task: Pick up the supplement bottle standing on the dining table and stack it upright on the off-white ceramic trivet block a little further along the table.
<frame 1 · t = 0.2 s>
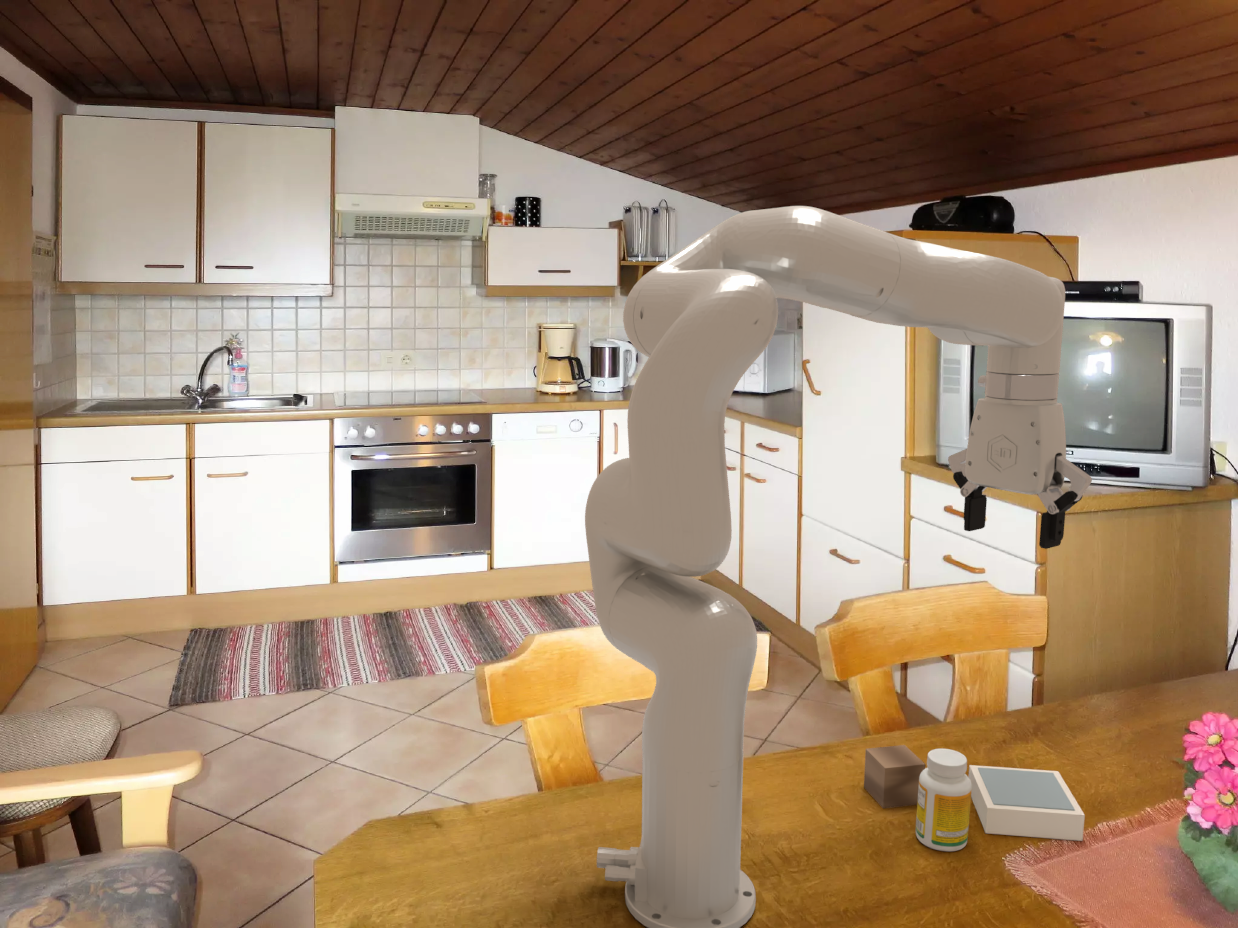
hand: (1010, 537, 114), 30 cm above the table, tool pointing down, fingers open, 9 cm apart
supplement bottle: (941, 841, 107), on the table
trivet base: (1022, 813, 112), on the table
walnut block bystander: (892, 795, 116), on the table
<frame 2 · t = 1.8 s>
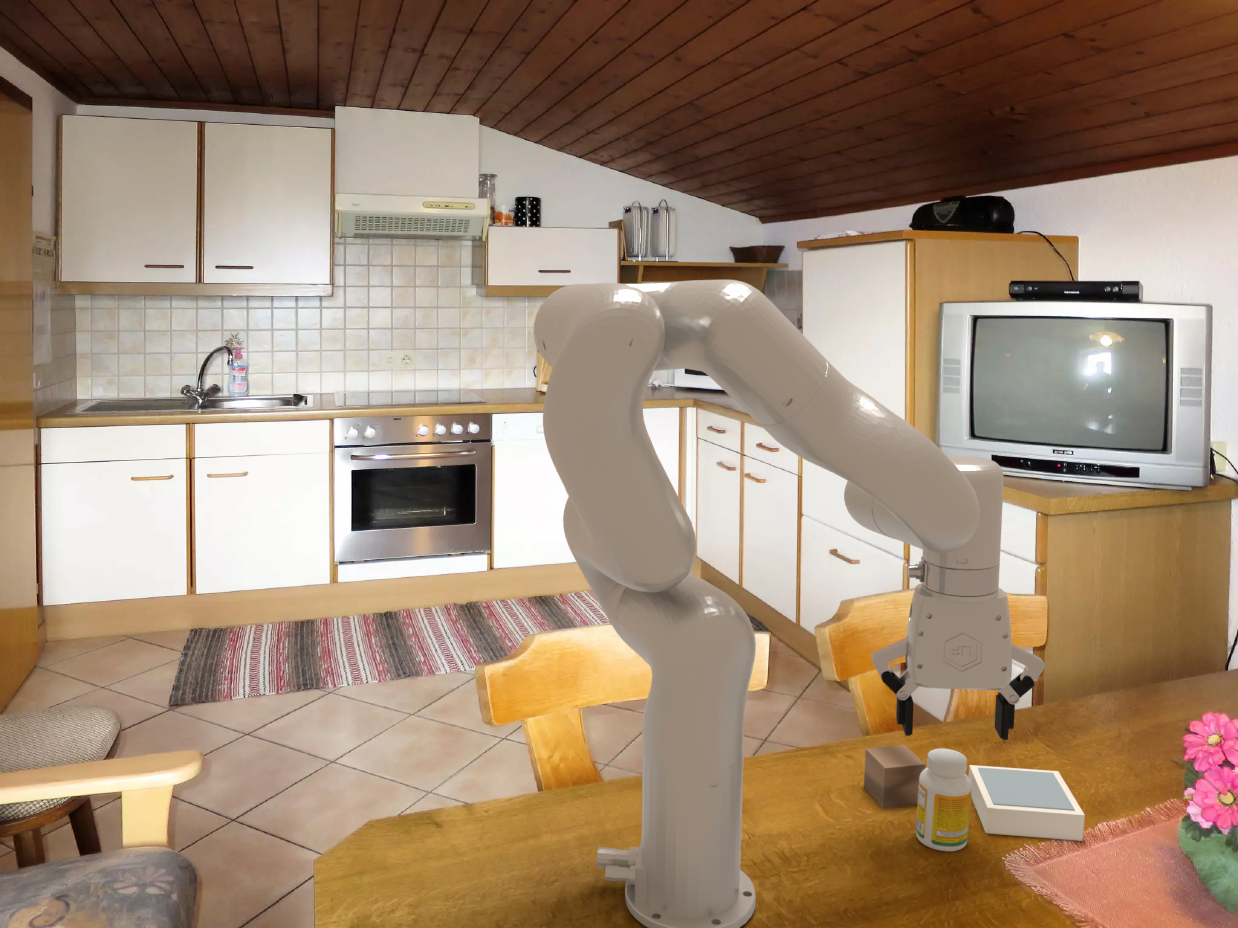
hand: (953, 732, 105), 12 cm above the table, tool pointing down, fingers open, 9 cm apart
nothing on the table moved.
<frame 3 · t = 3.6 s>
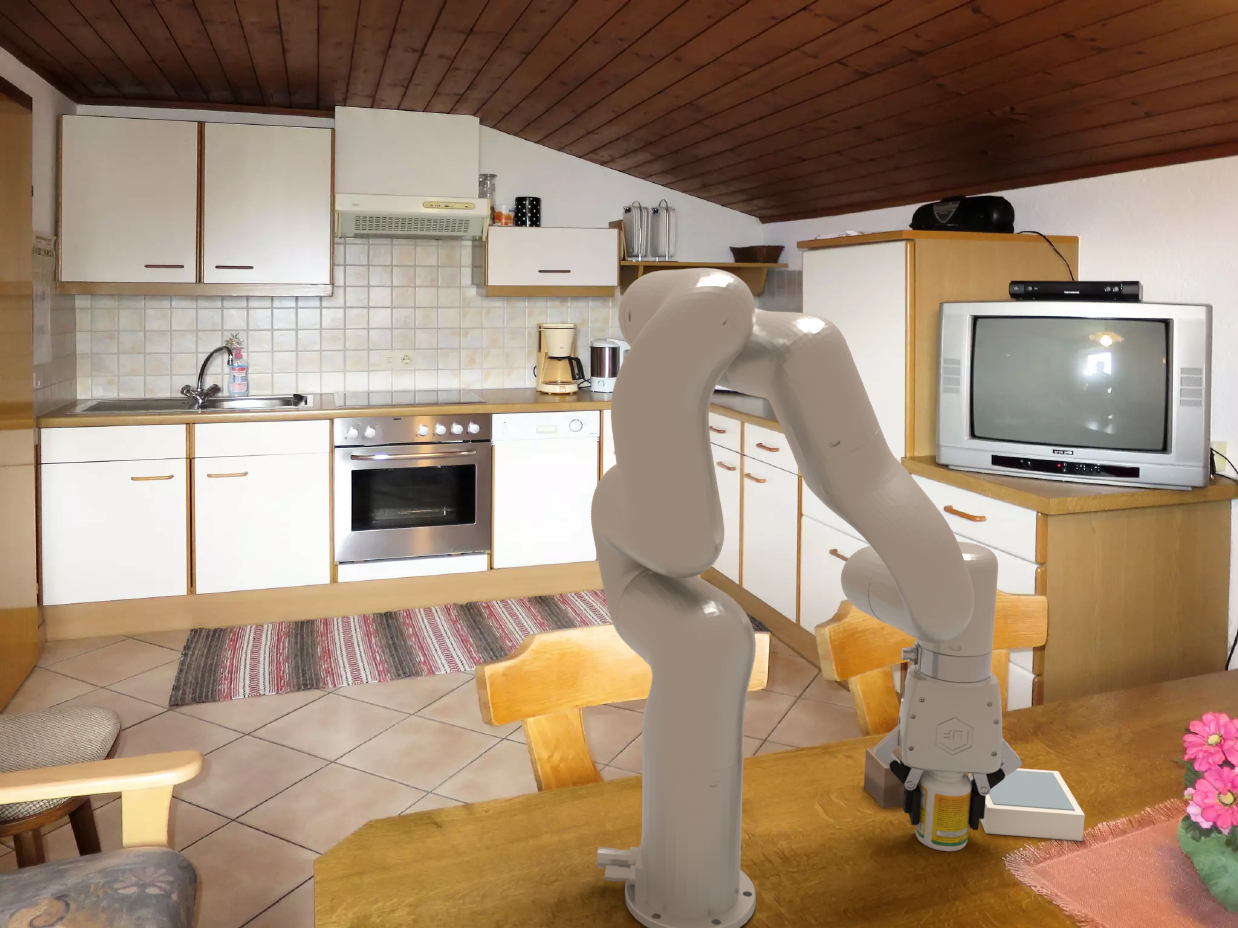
hand: (942, 819, 107), 2 cm above the table, tool pointing down, fingers closed on supplement bottle, 5 cm apart
supplement bottle: (941, 840, 107), on the table, touching gripper
everything else where it was.
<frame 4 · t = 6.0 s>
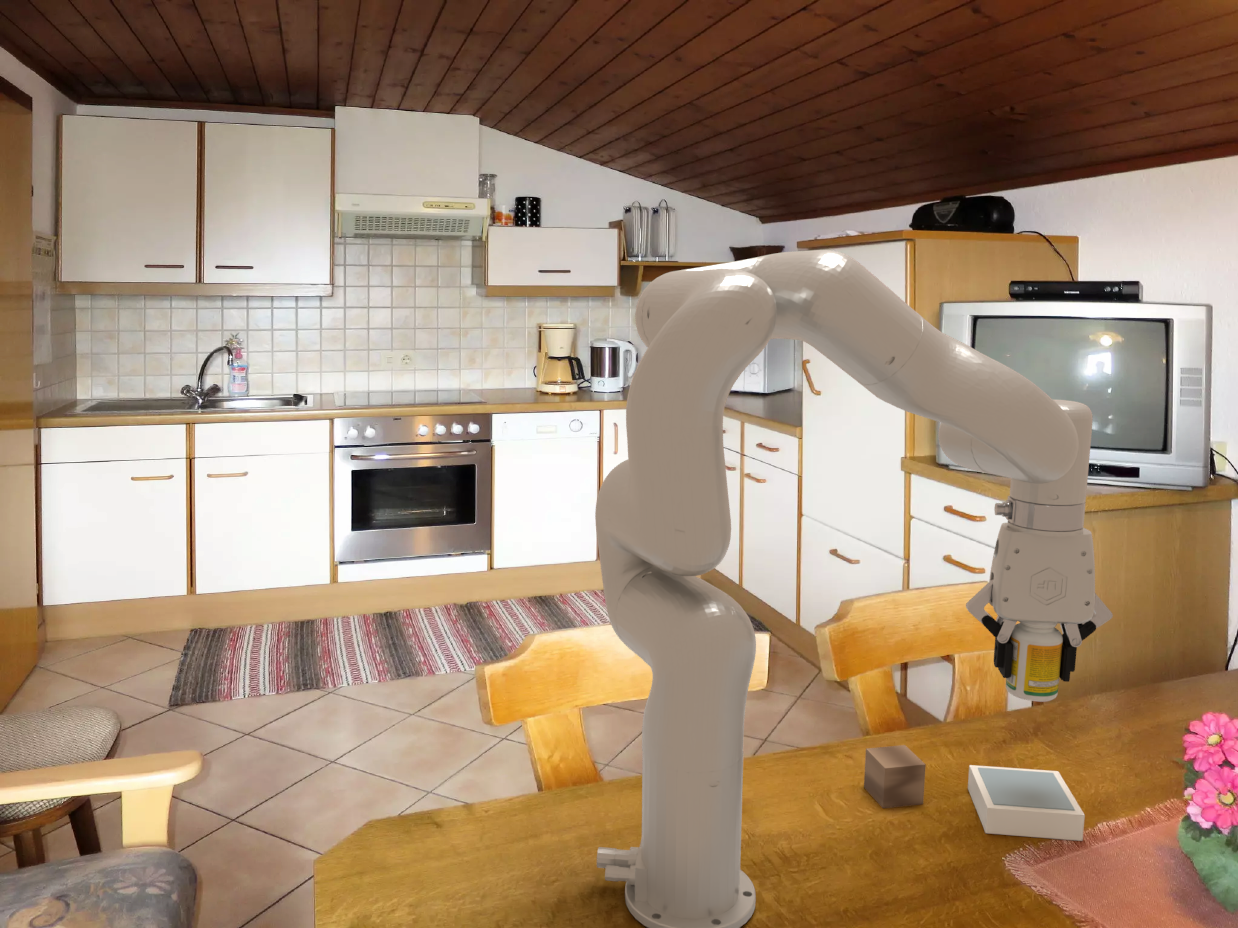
hand: (1033, 673, 110), 17 cm above the table, tool pointing down, fingers closed on supplement bottle, 5 cm apart
supplement bottle: (1031, 694, 110), point 14 cm above the table, touching gripper
everything else where it was.
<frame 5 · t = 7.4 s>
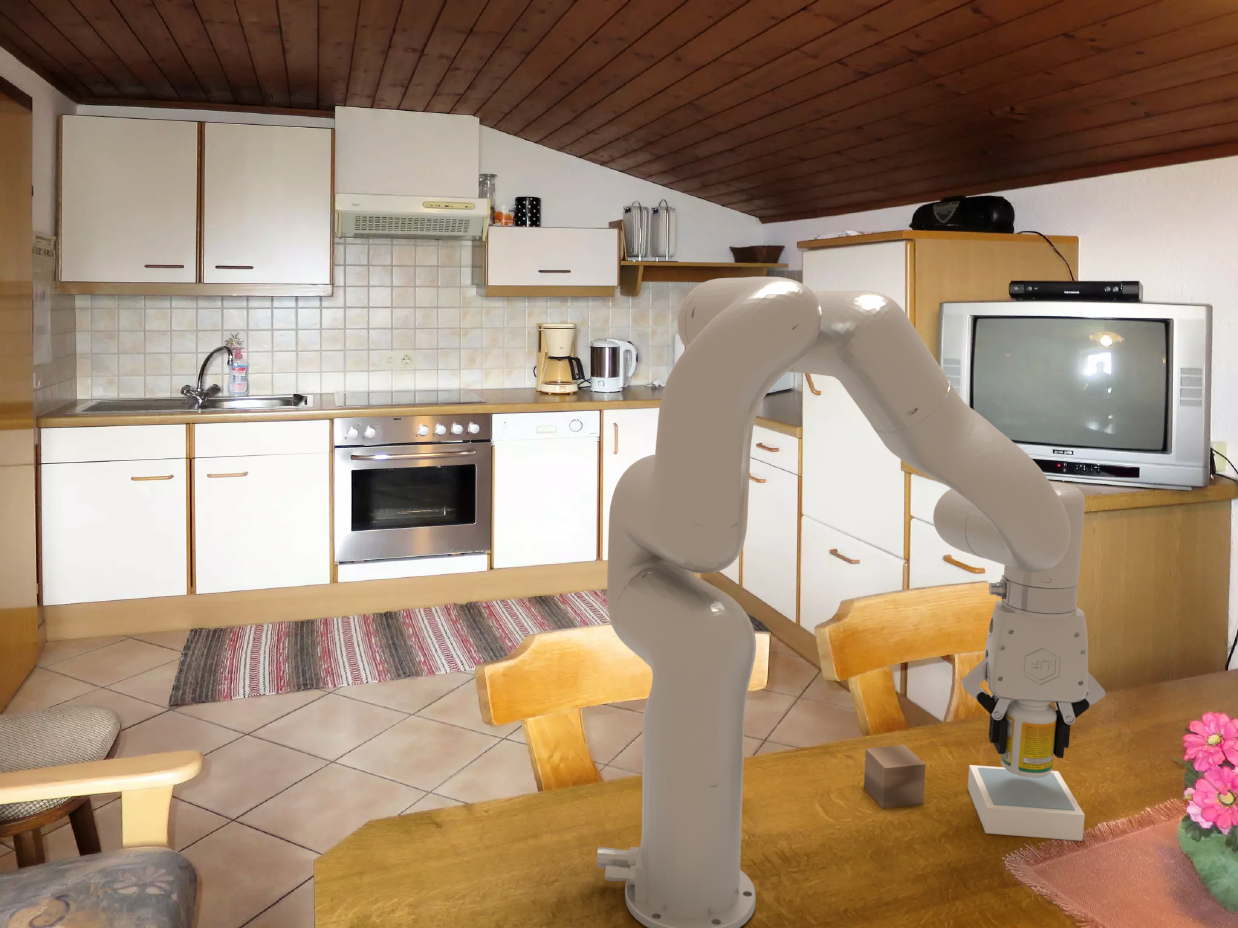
hand: (1027, 748, 111), 8 cm above the table, tool pointing down, fingers closed on supplement bottle, 5 cm apart
supplement bottle: (1026, 769, 112), point 5 cm above the table, touching gripper
everything else where it was.
when the fingers open (6 cm above the table, at t = 8.6 s): supplement bottle stays where it is, resting on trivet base.
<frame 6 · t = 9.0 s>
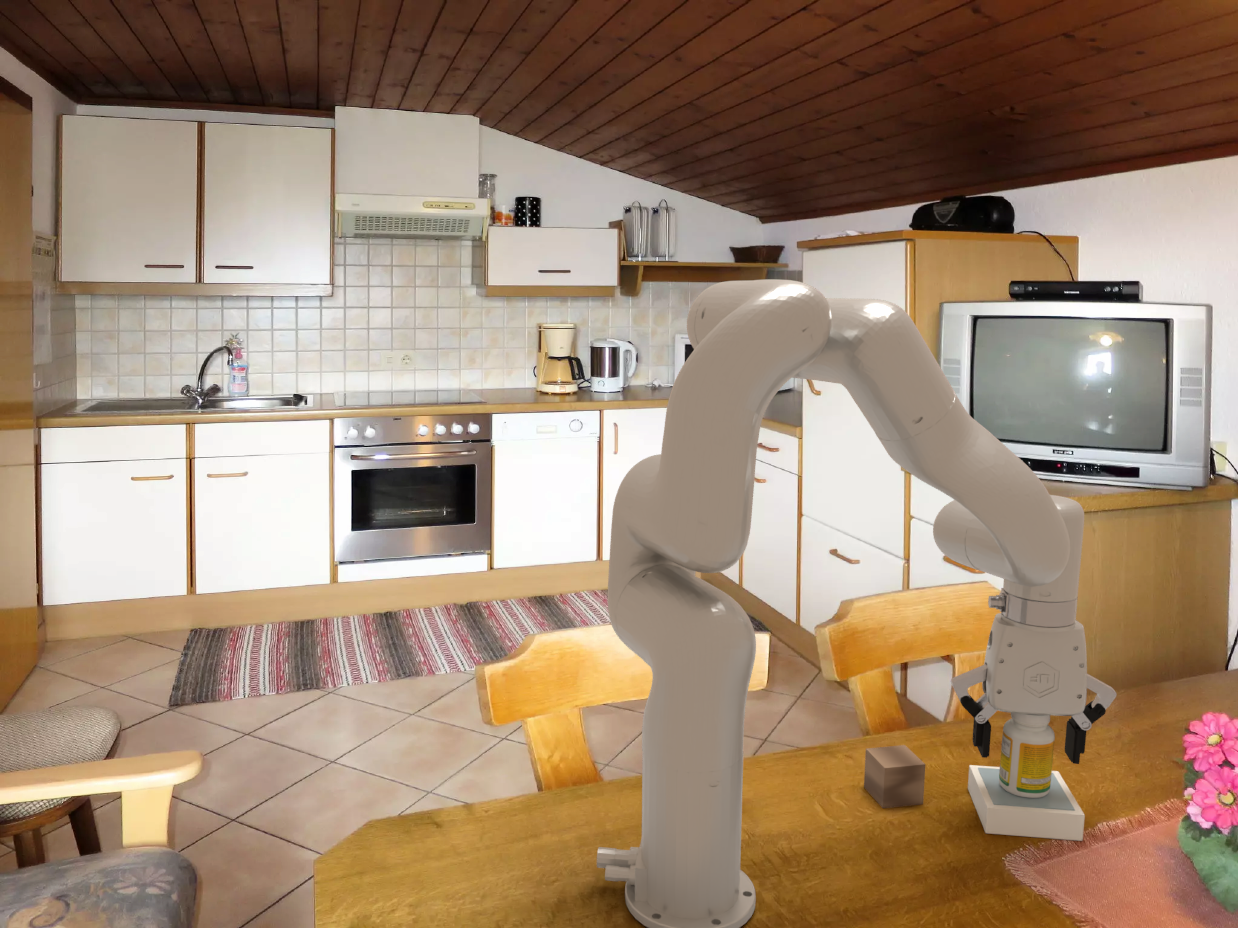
hand: (1026, 755, 111), 7 cm above the table, tool pointing down, fingers open, 9 cm apart
supplement bottle: (1024, 789, 112), point 3 cm above the table, touching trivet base
everything else where it was.
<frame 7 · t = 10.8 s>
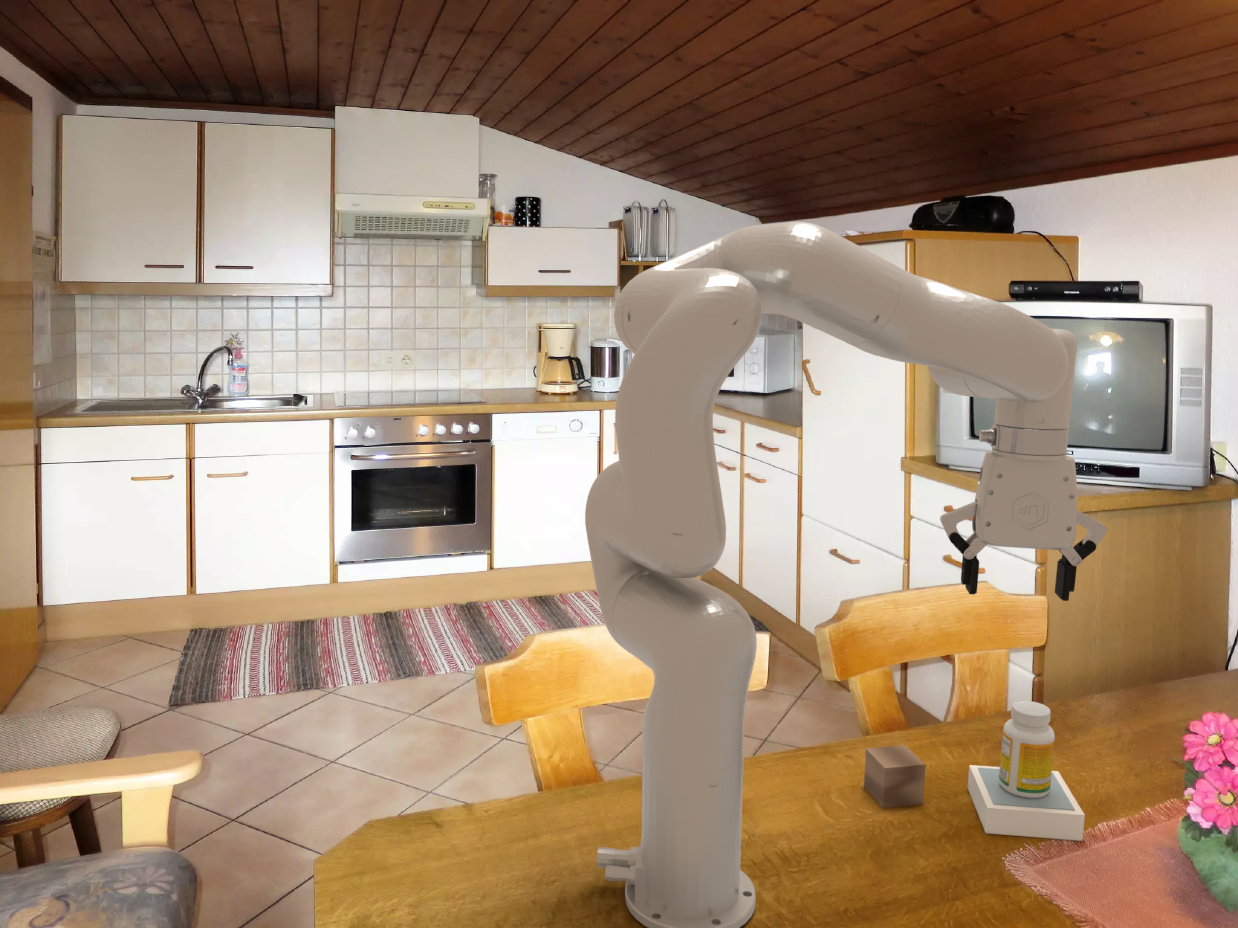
hand: (1015, 594, 111), 25 cm above the table, tool pointing down, fingers open, 9 cm apart
nothing on the table moved.
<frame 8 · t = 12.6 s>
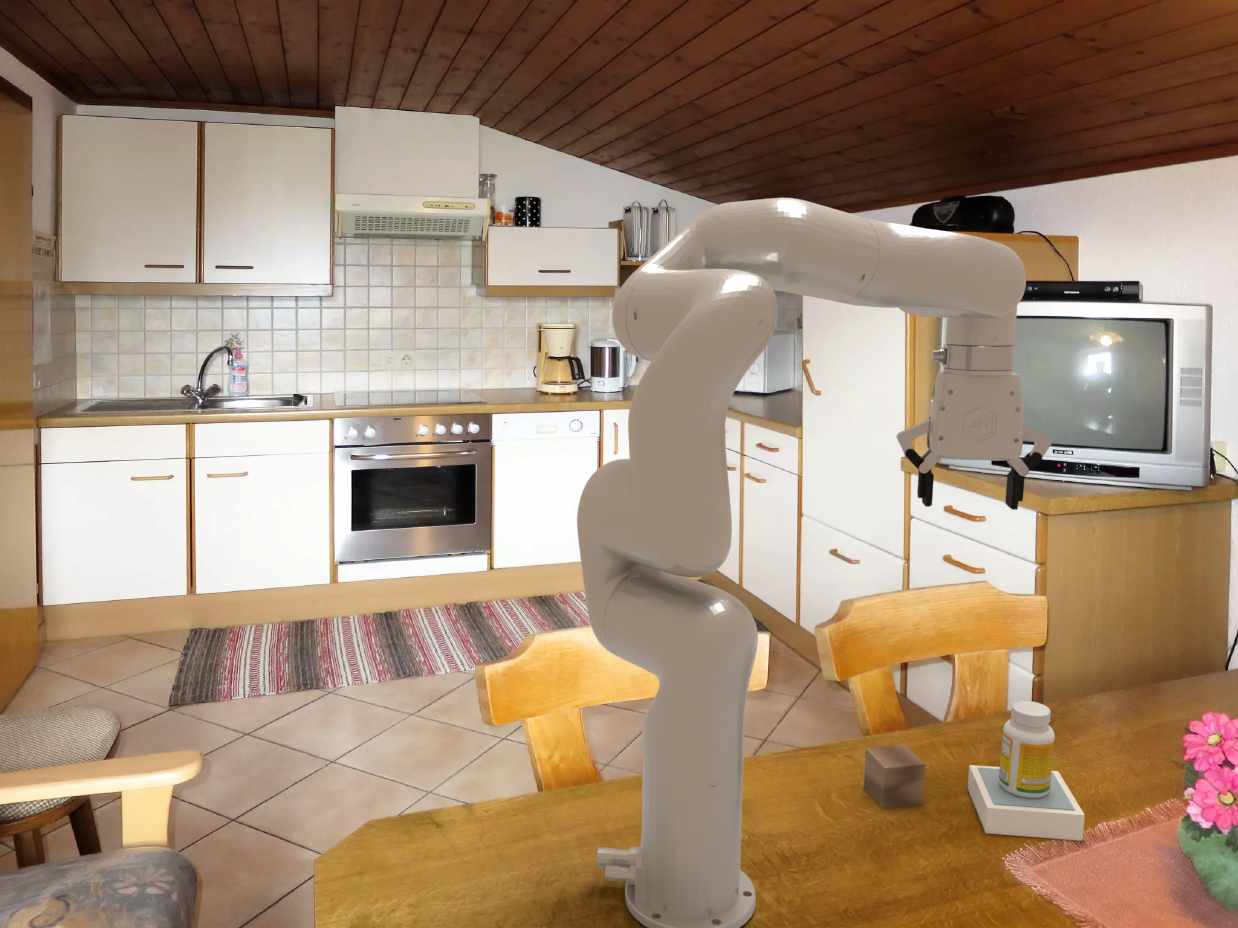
hand: (968, 505, 117), 33 cm above the table, tool pointing down, fingers open, 9 cm apart
nothing on the table moved.
at the end: supplement bottle inside the target area on the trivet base (0.1 cm from its centre), point 2.9 cm above the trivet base's base; supplement bottle tilted 0°; the gripper is holding nothing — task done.
